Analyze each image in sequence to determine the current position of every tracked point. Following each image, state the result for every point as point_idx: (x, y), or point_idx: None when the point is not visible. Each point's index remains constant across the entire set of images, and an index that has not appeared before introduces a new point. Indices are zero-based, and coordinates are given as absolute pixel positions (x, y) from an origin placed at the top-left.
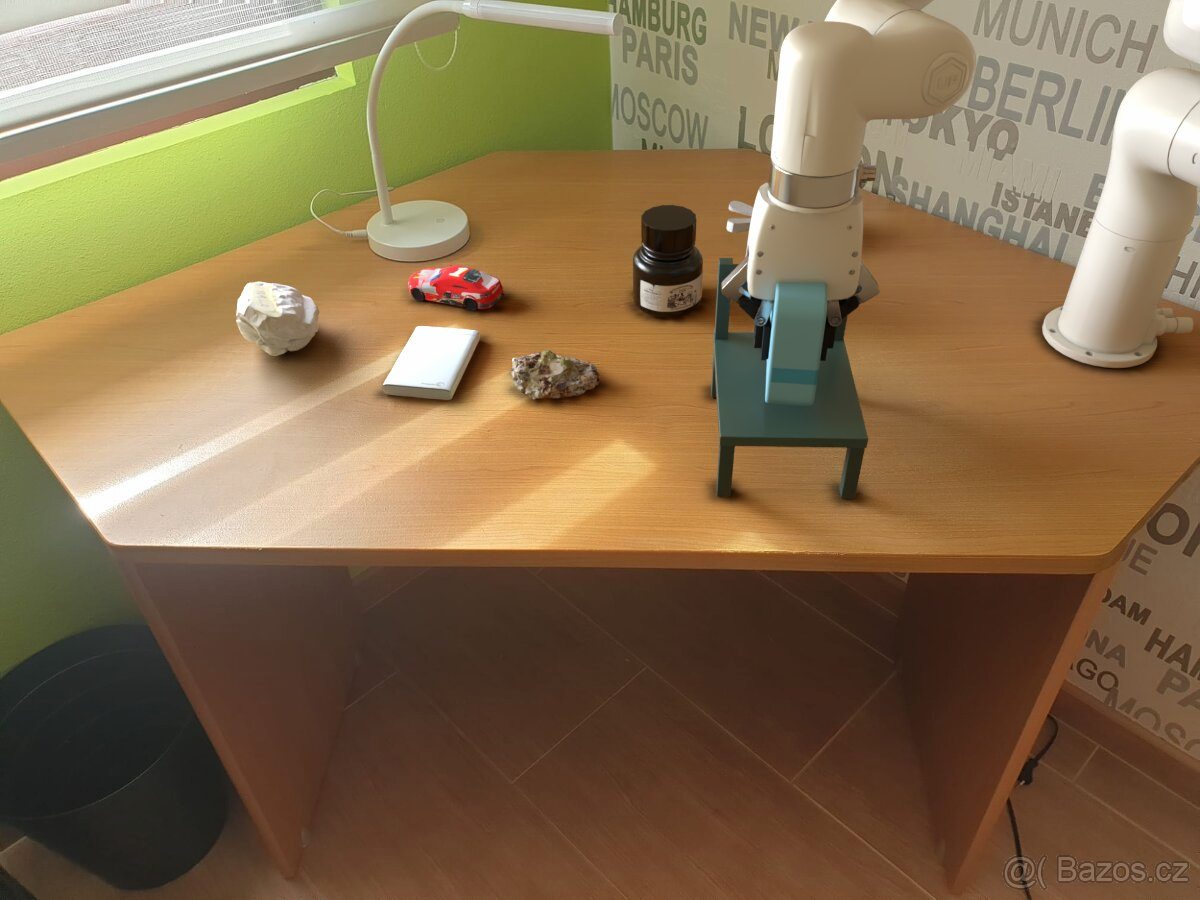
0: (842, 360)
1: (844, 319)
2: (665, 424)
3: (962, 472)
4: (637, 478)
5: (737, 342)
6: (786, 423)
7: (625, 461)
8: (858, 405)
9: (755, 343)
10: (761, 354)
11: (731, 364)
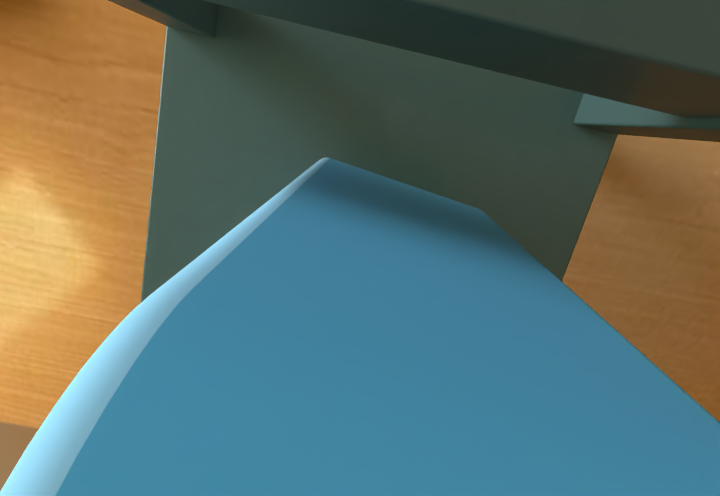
0: (554, 245)
1: (661, 136)
2: (125, 139)
3: None
4: (61, 290)
5: (246, 65)
6: None
7: (37, 240)
8: None
9: None
10: None
11: (201, 192)
